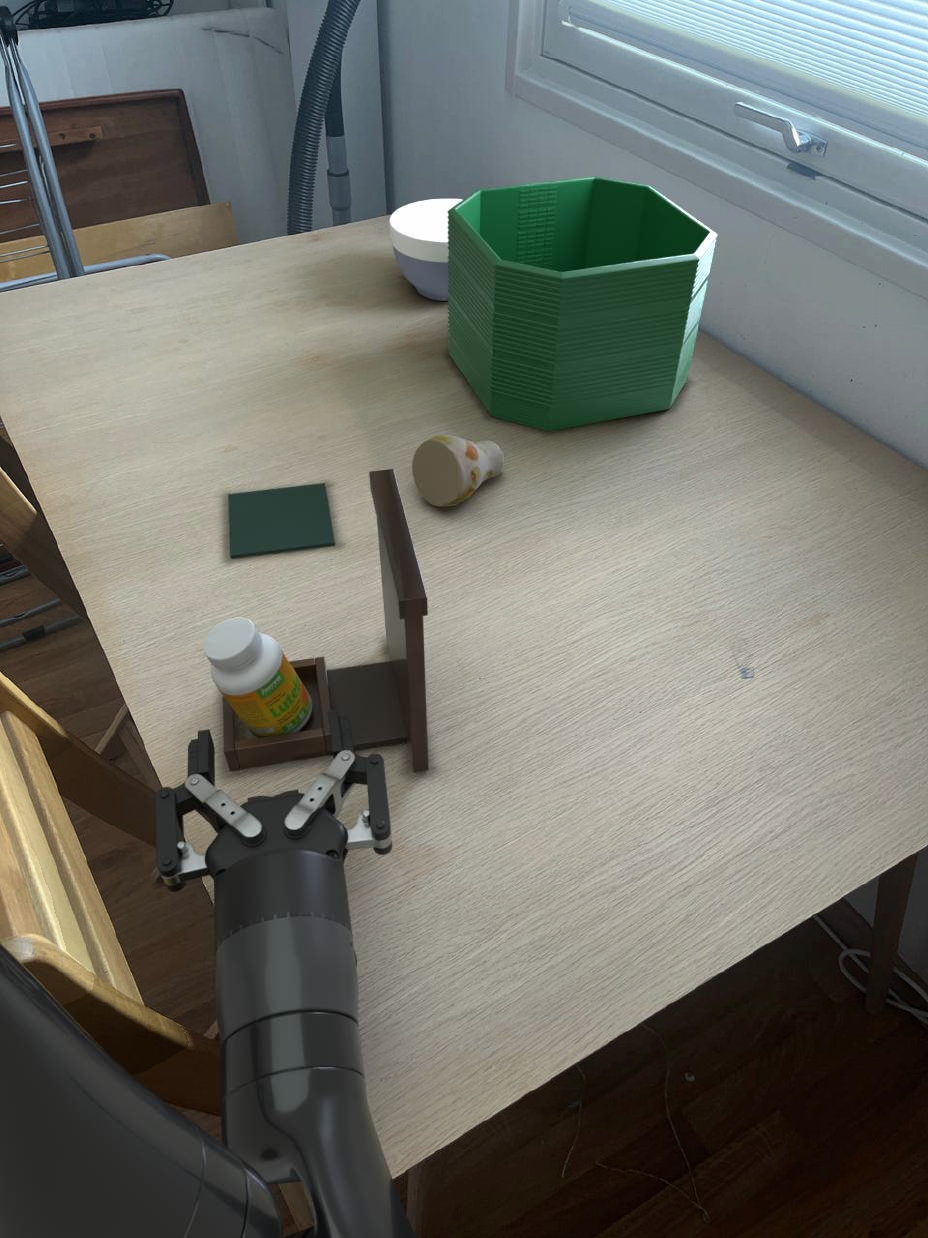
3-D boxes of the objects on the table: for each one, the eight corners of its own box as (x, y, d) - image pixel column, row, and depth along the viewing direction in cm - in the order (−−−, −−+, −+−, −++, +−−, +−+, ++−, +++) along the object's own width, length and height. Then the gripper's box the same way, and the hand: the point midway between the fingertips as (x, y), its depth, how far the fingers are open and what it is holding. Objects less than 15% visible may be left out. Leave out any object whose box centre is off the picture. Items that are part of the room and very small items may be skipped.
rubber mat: (230, 558, 84) (230, 555, 84) (228, 497, 91) (228, 493, 91) (335, 545, 86) (334, 542, 85) (325, 485, 93) (325, 482, 92)
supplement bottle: (295, 749, 67) (240, 671, 60) (238, 739, 69) (179, 662, 62) (325, 692, 70) (276, 612, 63) (269, 684, 72) (216, 606, 65)
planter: (505, 440, 99) (513, 282, 86) (435, 336, 116) (433, 192, 103) (708, 403, 105) (744, 249, 92) (613, 309, 122) (632, 170, 110)
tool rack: (230, 803, 64) (175, 631, 52) (227, 665, 74) (180, 492, 62) (432, 769, 67) (427, 597, 54) (403, 640, 76) (393, 468, 64)
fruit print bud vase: (523, 479, 94) (511, 434, 84) (456, 539, 93) (435, 501, 84) (478, 436, 96) (461, 388, 87) (412, 494, 96) (387, 452, 86)
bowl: (474, 321, 120) (475, 250, 113) (372, 298, 124) (367, 229, 118) (519, 276, 130) (523, 209, 123) (423, 257, 135) (422, 191, 128)
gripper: (410, 898, 47) (371, 674, 58) (133, 950, 45) (148, 707, 56) (415, 960, 52) (377, 744, 63) (167, 1009, 50) (174, 776, 61)
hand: (270, 727), depth 59 cm, fingers open, 8 cm apart
